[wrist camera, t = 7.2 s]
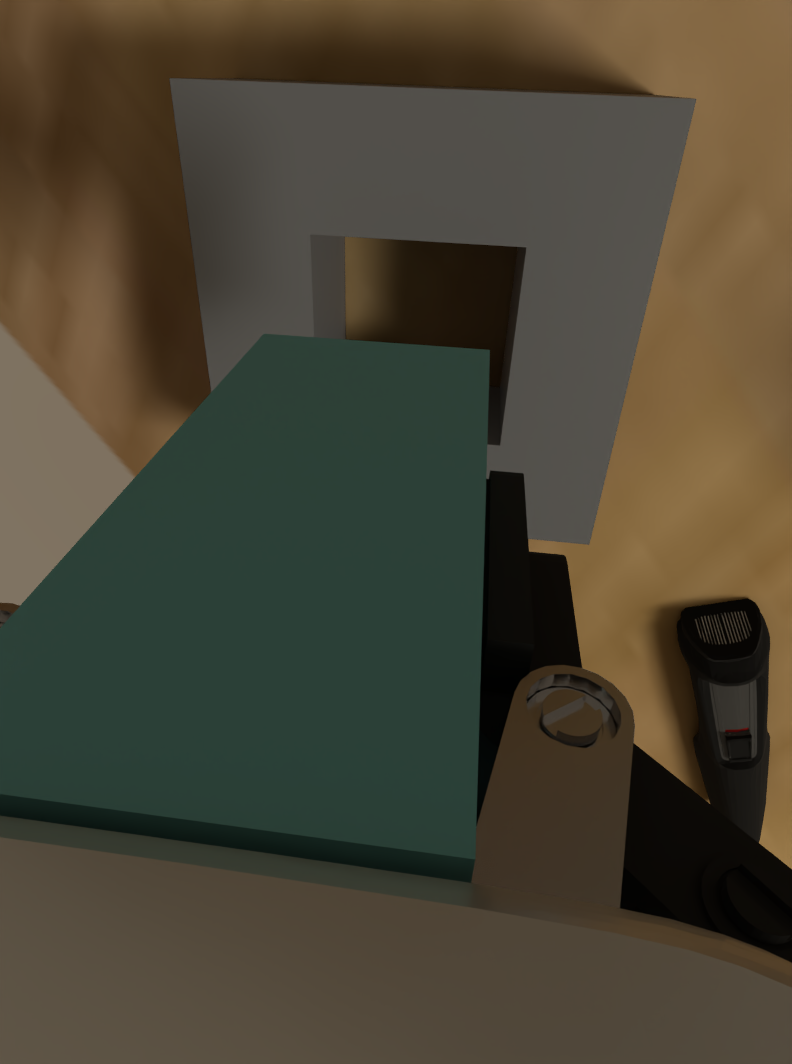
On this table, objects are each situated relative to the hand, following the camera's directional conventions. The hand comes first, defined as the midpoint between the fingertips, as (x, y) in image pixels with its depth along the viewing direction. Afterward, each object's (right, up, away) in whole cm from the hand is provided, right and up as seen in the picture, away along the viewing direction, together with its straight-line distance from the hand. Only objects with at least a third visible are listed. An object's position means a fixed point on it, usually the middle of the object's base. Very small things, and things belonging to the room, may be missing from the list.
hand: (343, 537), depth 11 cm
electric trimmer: (+18, -9, +23) cm, 30 cm away
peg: (0, +2, +3) cm, 3 cm away
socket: (+2, +8, +13) cm, 15 cm away
